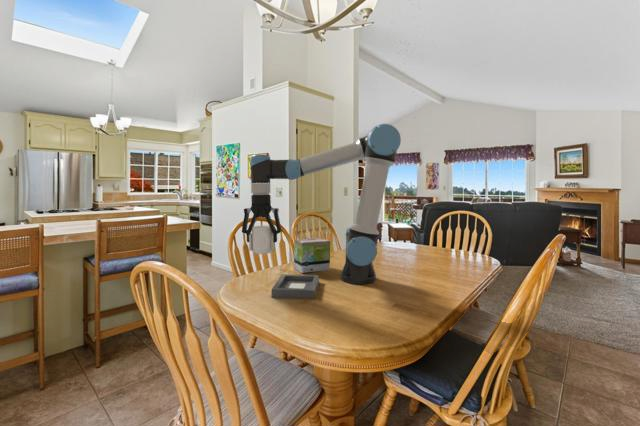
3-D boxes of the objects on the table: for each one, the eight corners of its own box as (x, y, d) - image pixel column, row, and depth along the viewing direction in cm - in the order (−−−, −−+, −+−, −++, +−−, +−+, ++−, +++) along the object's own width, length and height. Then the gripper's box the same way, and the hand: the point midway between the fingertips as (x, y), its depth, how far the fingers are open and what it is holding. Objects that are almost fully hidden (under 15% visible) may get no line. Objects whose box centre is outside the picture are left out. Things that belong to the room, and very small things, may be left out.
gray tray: (318, 282, 139) (319, 275, 139) (314, 298, 119) (314, 290, 119) (281, 281, 140) (281, 274, 140) (271, 297, 120) (271, 289, 120)
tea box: (302, 274, 151) (302, 242, 150) (293, 268, 160) (293, 239, 159) (330, 270, 158) (330, 240, 157) (320, 265, 167) (321, 237, 166)
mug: (278, 254, 128) (277, 228, 127) (257, 256, 124) (256, 230, 123) (270, 249, 139) (269, 225, 138) (250, 251, 135) (249, 226, 134)
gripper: (288, 193, 133) (289, 248, 135) (238, 193, 134) (239, 248, 136) (285, 194, 125) (286, 252, 127) (231, 194, 127) (233, 251, 129)
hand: (262, 250), depth 132 cm, fingers closed on mug, 8 cm apart
